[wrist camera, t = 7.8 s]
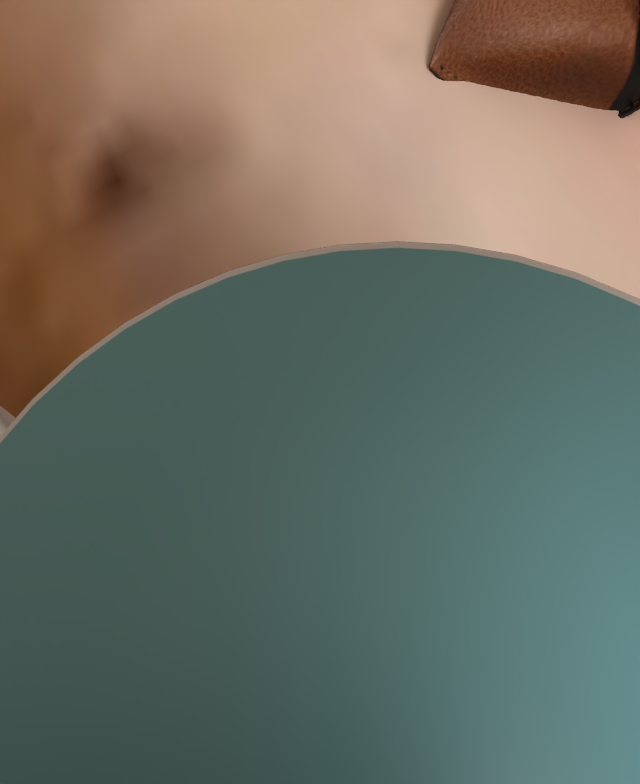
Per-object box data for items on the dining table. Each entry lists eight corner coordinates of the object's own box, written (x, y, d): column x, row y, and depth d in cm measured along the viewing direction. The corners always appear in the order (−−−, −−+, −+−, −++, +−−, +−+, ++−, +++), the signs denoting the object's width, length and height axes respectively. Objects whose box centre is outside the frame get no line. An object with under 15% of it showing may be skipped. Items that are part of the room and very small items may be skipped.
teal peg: (519, 637, 14) (1471, 1185, 2) (336, 736, 14) (23, 2103, 2) (416, 456, 16) (561, 90, 3) (250, 543, 16) (-251, 494, 3)
